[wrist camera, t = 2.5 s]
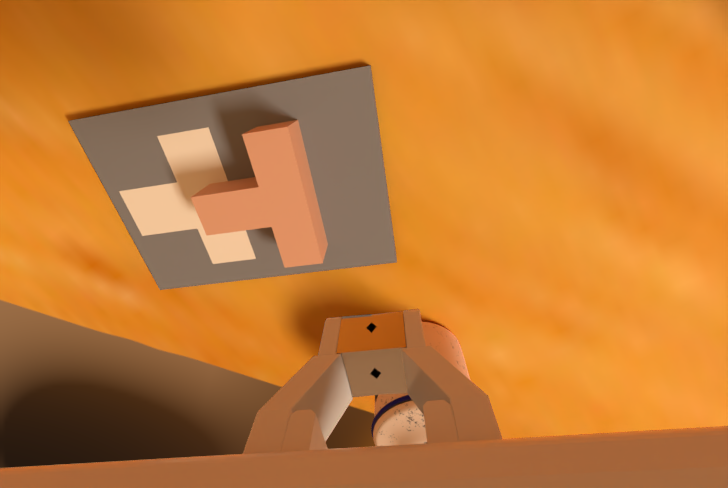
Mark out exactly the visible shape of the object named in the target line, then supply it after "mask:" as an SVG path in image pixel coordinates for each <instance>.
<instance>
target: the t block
mask: <svg viewBox="0 0 728 488" xmlns="http://www.w3.org/2000/svg"><path fill="white" fill-rule="evenodd" d="M242 136H243V140H244V143H245V146H246V149H247V152H248V155H249V158H250V161H251V165H252V168H253V171H254V174H255V177H252V178H245V179H239V180H232V181H226V182H219V183H212V184H209V185H207V186H206V187H205V188H203V189H202V190H200V191H199V192H197V193H196V194H194V195H193V196H192V197H190V198H191V200H192V202H193V205H194V207H195V210H196V212H197V214H198V217H199V219H200V221H201V224H202V226H203V228H204V231H205V233H206V235H215V234H222V233H230V232H237V231H245V230H252V229H260V228H267V227H272V230H273V233H274V236H275V239H276V242H277V246H278V249H279V252H280V255H281V258H282V261H283V264H284V267H285V268H287V267H295V266H304V265H312V264H321V263H323V260H324V257H325V253H326V250H327V246H328V243H327V238H326V234H325V230H324V226H323V222H322V218H321V213H320V209H319V205H318V201H317V197H316V193H315V188H314V184H313V180H312V176H311V172H310V168H309V163H308V159H307V155H306V151H305V147H304V143H303V139H302V134H301V130H300V126H299V122H298V120H294V121H288V122H282V123H276V124H270V125H264V126H258V127H256V128H254V129H252V130H250V131H248V132H246V133H244V134H242Z"/></svg>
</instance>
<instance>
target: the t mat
mask: <svg viewBox="0 0 728 488" xmlns="http://www.w3.org/2000/svg"><path fill="white" fill-rule="evenodd" d="M294 120H298V122H299V126H300V130H301V134H302V139H303V143H304V147H305V151H306V155H307V159H308V163H309V168H310V172H311V176H312V180H313V184H314V188H315V193H316V197H317V201H318V205H319V209H320V213H321V218H322V222H323V226H324V230H325V234H326V238H327V243H328V246H327V250H326V253H325V257H324V260H323V263H321V264H312V265H304V266H295V267H287V268H285V267H284V264H283V261H282V258H281V255H280V252H279V249H278V246H277V242H276V239H275V236H274V233H273V230H272V227H267V228H260V229H252V230H245V231H237V232H230V233H222V234H215V235H206V233H205V231H204V228H203V226H202V224H201V221H200V219H199V217H198V214H197V212H196V210H195V207H194V205H193V202H192V200H191V198H190V197H192V196H193V195H194V194H196V193H197V192H199V191H200V190H202V189H203V188H205V187H206V186H207V185H209V184H212V183H219V182H226V181H232V180H239V179H245V178H252V177H255V174H254V171H253V168H252V165H251V161H250V158H249V155H248V152H247V149H246V146H245V143H244V140H243V136H242V134H244V133H246V132H248V131H250V130H252V129H254V128H256V127H258V126H264V125H270V124H276V123H282V122H288V121H294ZM68 122H69V123H70V125H71V127H72V129H73V131H74V133H75V134H76V136H77V138H78V140H79V142H80V144H81V145H82V147H83V149H84V151H85V153H86V155H87V156H88V158H89V160H90V162H91V164H92V166H93V167H94V169H95V171H96V173H97V175H98V177H99V178H100V180H101V182H102V184H103V186H104V188H105V189H106V191H107V193H108V195H109V197H110V199H111V200H112V202H113V204H114V206H115V208H116V210H117V211H118V213H119V215H120V217H121V219H122V221H123V222H124V224H125V226H126V228H127V230H128V232H129V233H130V235H131V237H132V239H133V241H134V243H135V245H136V246H137V248H138V250H139V252H140V254H141V256H142V257H143V259H144V261H145V263H146V265H147V267H148V268H149V270H150V272H151V274H152V276H153V278H154V279H155V281H156V283H157V285H158V287H159V289H160V290H163V289H172V288H180V287H189V286H197V285H206V284H214V283H223V282H232V281H240V280H249V279H257V278H266V277H275V276H283V275H292V274H300V273H309V272H317V271H326V270H335V269H343V268H352V267H360V266H369V265H377V264H386V263H395V262H397V258H396V251H395V243H394V236H393V228H392V221H391V214H390V206H389V199H388V191H387V184H386V176H385V169H384V162H383V154H382V147H381V139H380V132H379V124H378V117H377V110H376V102H375V95H374V87H373V80H372V73H371V65H370V66H364V67H359V68H354V69H348V70H343V71H337V72H332V73H326V74H321V75H315V76H310V77H305V78H299V79H294V80H288V81H283V82H277V83H272V84H267V85H261V86H256V87H250V88H245V89H239V90H234V91H228V92H223V93H218V94H212V95H207V96H201V97H196V98H190V99H185V100H180V101H174V102H169V103H163V104H158V105H152V106H147V107H141V108H136V109H131V110H125V111H120V112H114V113H109V114H103V115H98V116H93V117H87V118H82V119H76V120H71V121H68Z"/></svg>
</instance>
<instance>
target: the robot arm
mask: <svg viewBox="0 0 728 488" xmlns="http://www.w3.org/2000/svg"><path fill="white" fill-rule="evenodd" d="M403 315H404V316H403ZM401 393H408V395H409V396H410V398H411V399H412V400H413V402H414V403H415V404H416V406H417V407H418V408H419V410H420V411H421V412H422V414H423V415H424V419H425V428H426V437H427V443H425V444H408V445H390V446H373V447H356V448H338V449H328V448H327V446H326V443H325V441H326V440H327V438H328V437H329V435H330V434H331V432H332V430H333V429H334V427H335V426H336V424H337V423H338V421H339V420H340V418H341V416H342V415H343V413H344V412H345V410H346V408H347V407H348V405H349V404H350V402H351V401H352V397H360V396H370V395H380V394H401ZM0 488H728V426H719V427H702V428H685V429H667V430H650V431H633V432H615V433H598V434H580V435H563V436H546V437H528V438H511V439H502V436H501V433H500V430H499V427H498V424H497V421H496V418H495V415H494V412H493V409H492V406H491V403H490V400H489V397H488V395H486V394H485V393H484V392H483V391H482V390H481V389H480V388H478V387H477V386H476V385H475V384H474V383H473V382H472V381H470V380H469V379H468V378H467V377H466V376H465V375H464V374H462V373H461V372H460V371H459V370H458V369H457V368H456V367H454V366H453V365H452V364H451V363H450V362H449V361H448V360H446V359H445V358H444V357H443V356H442V355H441V354H440V353H438V352H437V351H436V350H435V349H434V348H433V347H432V346H426V344H425V338H424V332H423V326H422V321H421V315H420V310H419V309H412V310H404V311H399V312H390V313H380V314H369V315H356V316H344V317H334V318H327V319H326V321H325V324H324V329H323V334H322V339H321V343H320V348H319V353H318V356H313V357H312V358H311V359H310V360H309V361H308V362H307V363H306V364H305V365H304V366H303V367H302V368H301V369H300V370H299V371H298V372H297V373H296V374H295V375H294V376H293V377H292V378H291V379H290V380H289V381H288V382H287V383H286V384H285V385H284V386H283V387H282V388H281V389H280V390H279V391H278V392H277V393H276V394H275V395H274V396H273V397H272V398H271V399H270V400H269V401H268V402H267V403H266V404H265V405H264V406H263V407H262V408H261V409H260V410H259V411H258V412H257V415H256V418H255V421H254V424H253V426H252V429H251V432H250V435H249V438H248V440H247V443H246V446H245V449H244V452H243V454H235V455H218V456H202V457H201V456H200V457H186V458H185V457H183V458H166V459H150V460H132V461H114V462H97V463H81V464H63V465H46V466H29V467H14V468H13V467H12V468H0Z"/></svg>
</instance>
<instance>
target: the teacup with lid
mask: <svg viewBox="0 0 728 488" xmlns="http://www.w3.org/2000/svg"><path fill="white" fill-rule="evenodd" d="M422 326H423V332H424V338H425V344H426V346H432V347H433V348H434V349H435V350H436V351H437V352H438V353H440V354H441V355H442V356H443V357H444V358H445V359H446V360H448V361H449V362H450V363H451V364H452V365H453V366H454V367H456V368H457V369H458V370H459V371H460V372H461V373H462V374H464V375H465V376H466V377H467V378H468V379H469V380H470V377H469V374H468V370H467V367H466V363H465V360H464V356H463V353H462V349H461V346H460V343H459V341H458V340H457V338H456V337H455V336H454V335H453V334H452V333H451V332H450V331H449V330H448V329H446V328H444V327H442V326H440V325H437V324H434V323H430V322H422ZM470 381H471V380H470ZM372 437H373V439H374V443H375V445H376V446H390V445H408V444H425V443H427V437H426V428H425V419H424V415H423V414H422V412H421V411H420V410H419V408H418V407H417V406H416V404H415V403H414V402H413V400H412V399H411V398H410V396H409V395H408V393H401V394H380V395H375V418H374V420H373V423H372Z"/></svg>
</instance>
